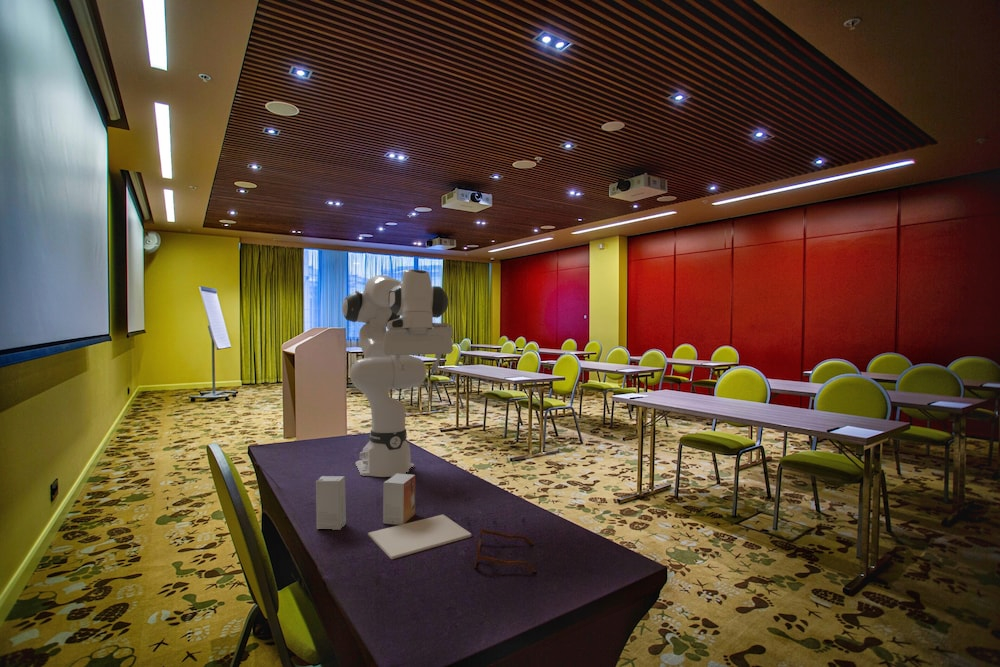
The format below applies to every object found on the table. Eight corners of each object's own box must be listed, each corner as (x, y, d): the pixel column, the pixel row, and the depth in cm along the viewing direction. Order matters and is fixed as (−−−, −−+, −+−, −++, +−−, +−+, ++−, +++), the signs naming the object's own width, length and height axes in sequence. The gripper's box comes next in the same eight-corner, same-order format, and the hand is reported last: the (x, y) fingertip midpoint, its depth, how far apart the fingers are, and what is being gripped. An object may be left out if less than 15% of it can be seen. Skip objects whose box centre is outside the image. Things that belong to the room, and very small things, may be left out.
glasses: (478, 544, 110) (478, 522, 109) (534, 546, 109) (535, 524, 109) (473, 573, 96) (473, 549, 96) (537, 575, 96) (538, 551, 96)
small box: (403, 526, 118) (403, 484, 117) (382, 524, 119) (382, 482, 119) (415, 513, 125) (416, 474, 125) (395, 511, 127) (396, 472, 127)
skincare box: (346, 523, 119) (346, 475, 119) (340, 531, 114) (340, 481, 114) (321, 523, 119) (322, 474, 119) (314, 530, 114) (315, 480, 114)
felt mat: (368, 535, 112) (368, 532, 112) (443, 516, 124) (443, 514, 124) (391, 559, 101) (391, 556, 101) (471, 536, 112) (471, 534, 112)
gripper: (451, 324, 145) (452, 369, 144) (382, 324, 140) (383, 371, 139) (454, 321, 139) (455, 369, 138) (382, 322, 134) (383, 371, 133)
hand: (418, 370), depth 139 cm, fingers open, 8 cm apart
